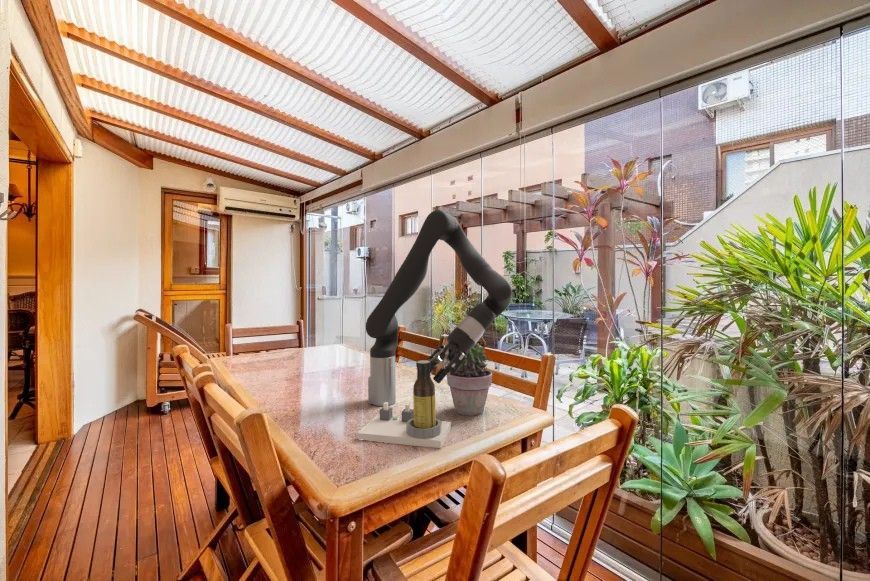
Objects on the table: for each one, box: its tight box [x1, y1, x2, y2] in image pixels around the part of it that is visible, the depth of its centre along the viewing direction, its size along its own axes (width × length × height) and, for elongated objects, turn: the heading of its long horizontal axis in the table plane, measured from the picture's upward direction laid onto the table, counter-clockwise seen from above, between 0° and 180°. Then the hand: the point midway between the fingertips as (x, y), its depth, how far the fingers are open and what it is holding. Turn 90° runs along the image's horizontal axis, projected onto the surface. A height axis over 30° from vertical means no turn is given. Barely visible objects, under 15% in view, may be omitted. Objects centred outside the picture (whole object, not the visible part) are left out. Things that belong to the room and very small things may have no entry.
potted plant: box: [446, 336, 493, 416], centre depth 129 cm, size 18×20×25 cm
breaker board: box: [356, 402, 452, 449], centre depth 110 cm, size 24×14×7 cm, turn 77°
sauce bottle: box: [412, 359, 437, 429], centre depth 107 cm, size 6×6×20 cm
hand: (429, 377), depth 107 cm, fingers open, 8 cm apart
